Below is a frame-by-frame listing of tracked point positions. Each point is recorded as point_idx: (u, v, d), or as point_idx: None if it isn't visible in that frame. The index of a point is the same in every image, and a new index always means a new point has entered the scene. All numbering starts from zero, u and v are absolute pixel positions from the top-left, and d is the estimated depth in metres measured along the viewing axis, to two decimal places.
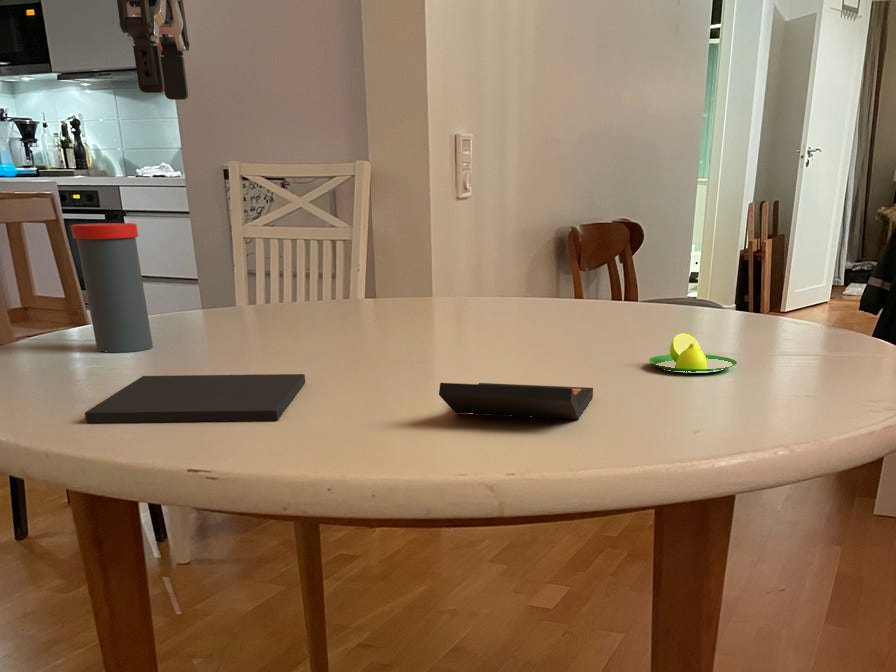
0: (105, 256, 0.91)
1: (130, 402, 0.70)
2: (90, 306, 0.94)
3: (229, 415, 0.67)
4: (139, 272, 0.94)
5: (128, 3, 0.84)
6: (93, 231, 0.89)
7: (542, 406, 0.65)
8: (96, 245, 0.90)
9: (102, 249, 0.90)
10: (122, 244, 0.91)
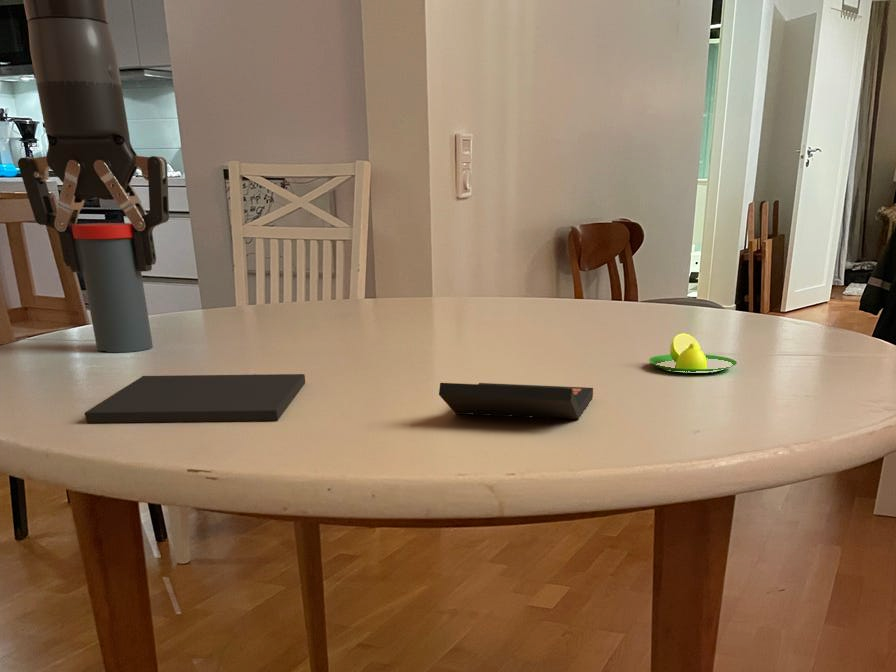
0: (106, 256, 0.91)
1: (130, 402, 0.70)
2: (90, 306, 0.94)
3: (229, 415, 0.67)
4: (139, 272, 0.94)
5: None
6: (93, 231, 0.89)
7: (542, 406, 0.65)
8: (96, 245, 0.90)
9: (102, 249, 0.90)
10: (122, 244, 0.91)
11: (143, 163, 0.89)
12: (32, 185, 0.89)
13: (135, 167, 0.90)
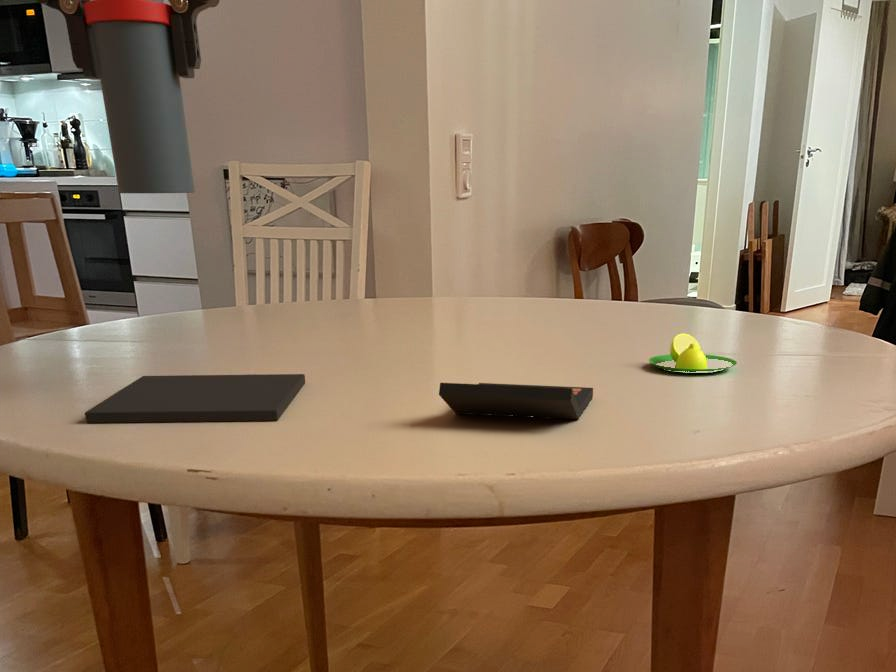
0: (133, 47, 0.64)
1: (130, 402, 0.70)
2: (110, 126, 0.67)
3: (229, 415, 0.67)
4: (178, 79, 0.68)
5: None
6: (116, 7, 0.63)
7: (542, 406, 0.65)
8: (120, 30, 0.64)
9: (128, 36, 0.64)
10: (156, 31, 0.65)
11: None
12: None
13: None
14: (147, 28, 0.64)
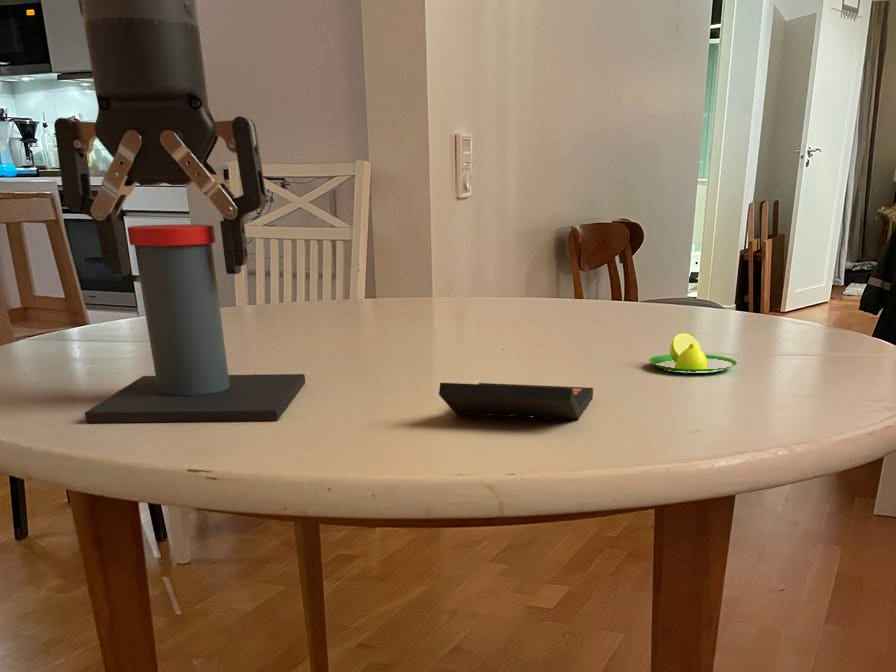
0: (174, 269, 0.68)
1: (130, 402, 0.70)
2: (151, 335, 0.71)
3: (229, 415, 0.67)
4: (216, 289, 0.71)
5: None
6: (159, 235, 0.66)
7: (542, 406, 0.65)
8: (162, 254, 0.67)
9: (170, 259, 0.67)
10: (196, 252, 0.68)
11: (226, 130, 0.66)
12: (69, 157, 0.65)
13: (214, 141, 0.67)
14: (188, 251, 0.67)
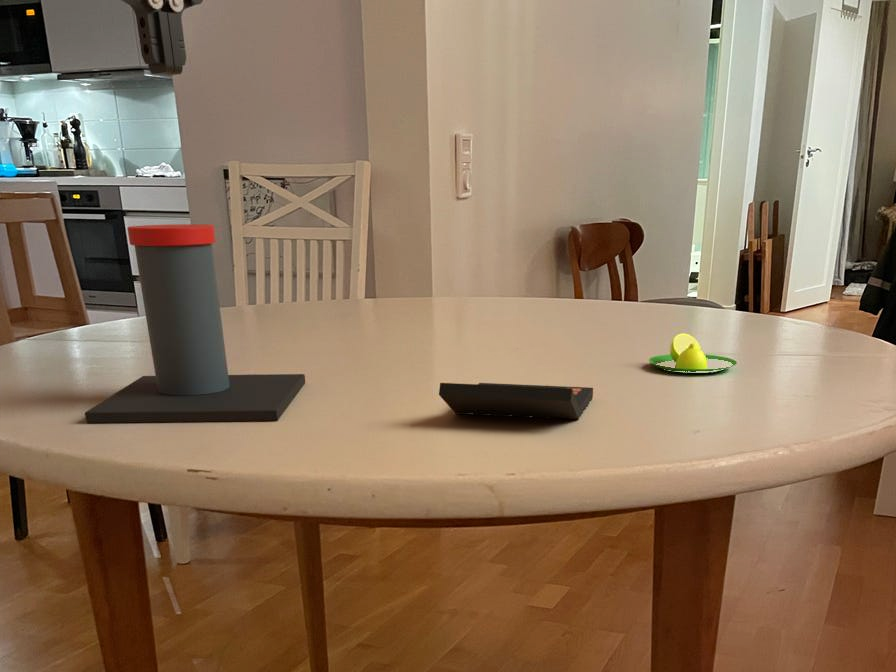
0: (174, 269, 0.68)
1: (130, 402, 0.70)
2: (151, 335, 0.71)
3: (229, 415, 0.67)
4: (216, 289, 0.71)
5: None
6: (159, 235, 0.66)
7: (542, 406, 0.65)
8: (162, 254, 0.67)
9: (170, 259, 0.67)
10: (196, 252, 0.68)
11: None
12: None
13: None
14: (188, 251, 0.67)
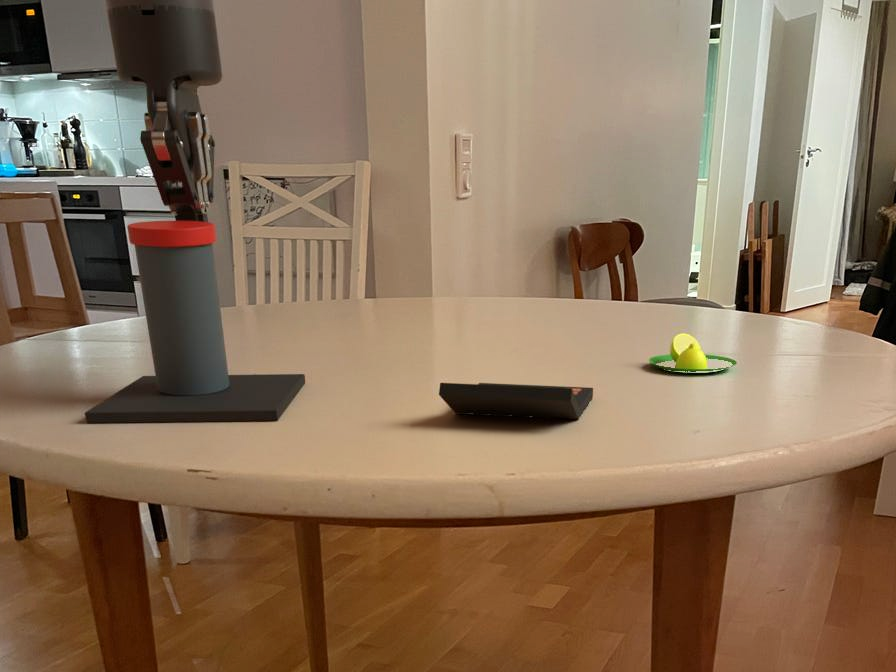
0: (175, 270, 0.67)
1: (130, 402, 0.70)
2: (151, 334, 0.70)
3: (229, 415, 0.67)
4: (216, 288, 0.70)
5: None
6: (159, 236, 0.66)
7: (542, 406, 0.65)
8: (163, 255, 0.67)
9: (170, 260, 0.67)
10: (197, 253, 0.67)
11: None
12: (184, 161, 0.67)
13: None
14: (188, 252, 0.67)
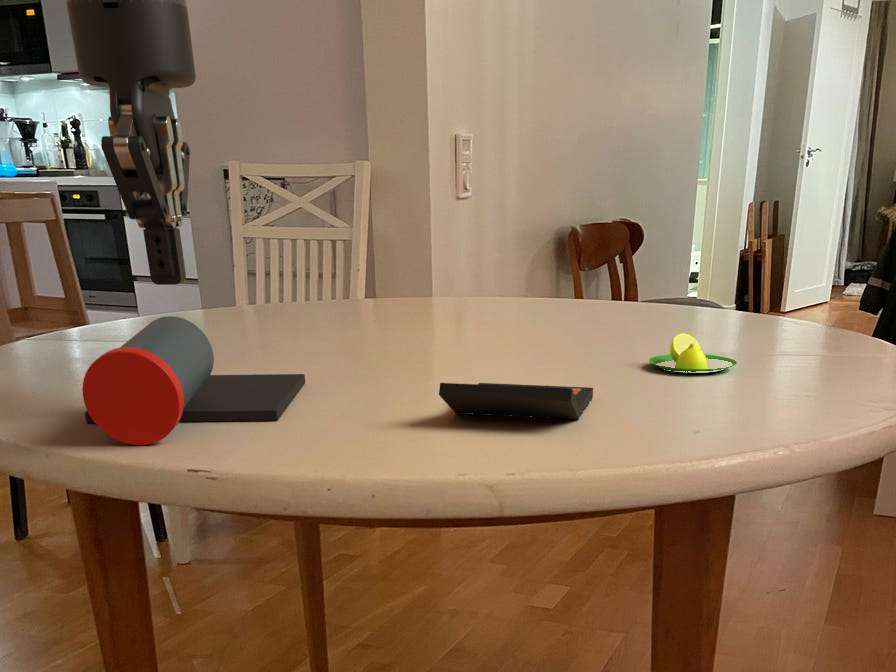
0: None
1: None
2: None
3: (229, 415, 0.67)
4: (190, 378, 0.64)
5: None
6: None
7: (542, 406, 0.65)
8: None
9: None
10: None
11: None
12: (151, 170, 0.61)
13: None
14: None
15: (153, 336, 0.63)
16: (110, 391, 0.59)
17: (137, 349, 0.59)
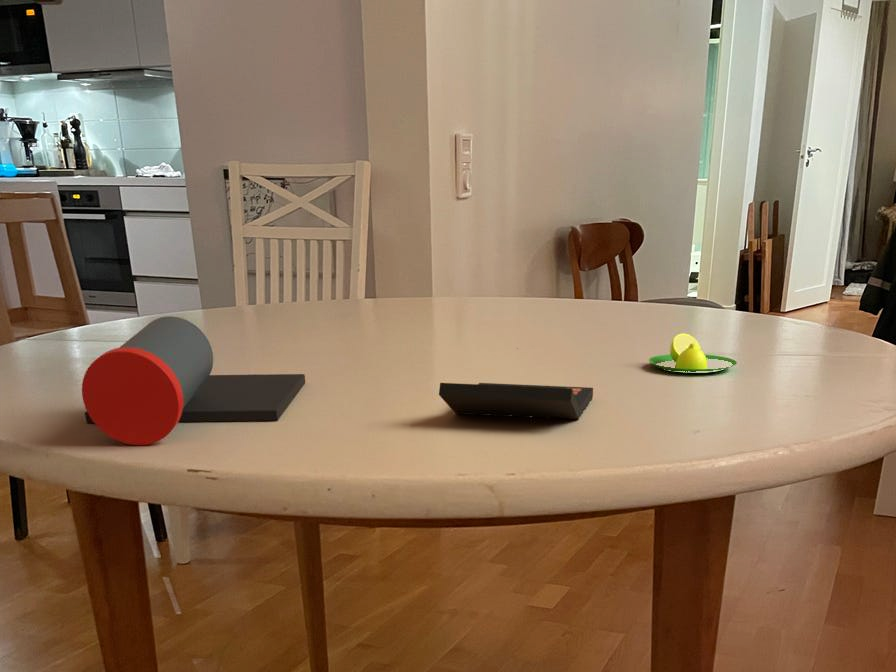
0: None
1: None
2: None
3: (229, 415, 0.67)
4: (189, 377, 0.64)
5: None
6: None
7: (542, 406, 0.65)
8: None
9: None
10: None
11: None
12: None
13: None
14: None
15: (152, 336, 0.63)
16: (109, 391, 0.59)
17: (136, 349, 0.59)
